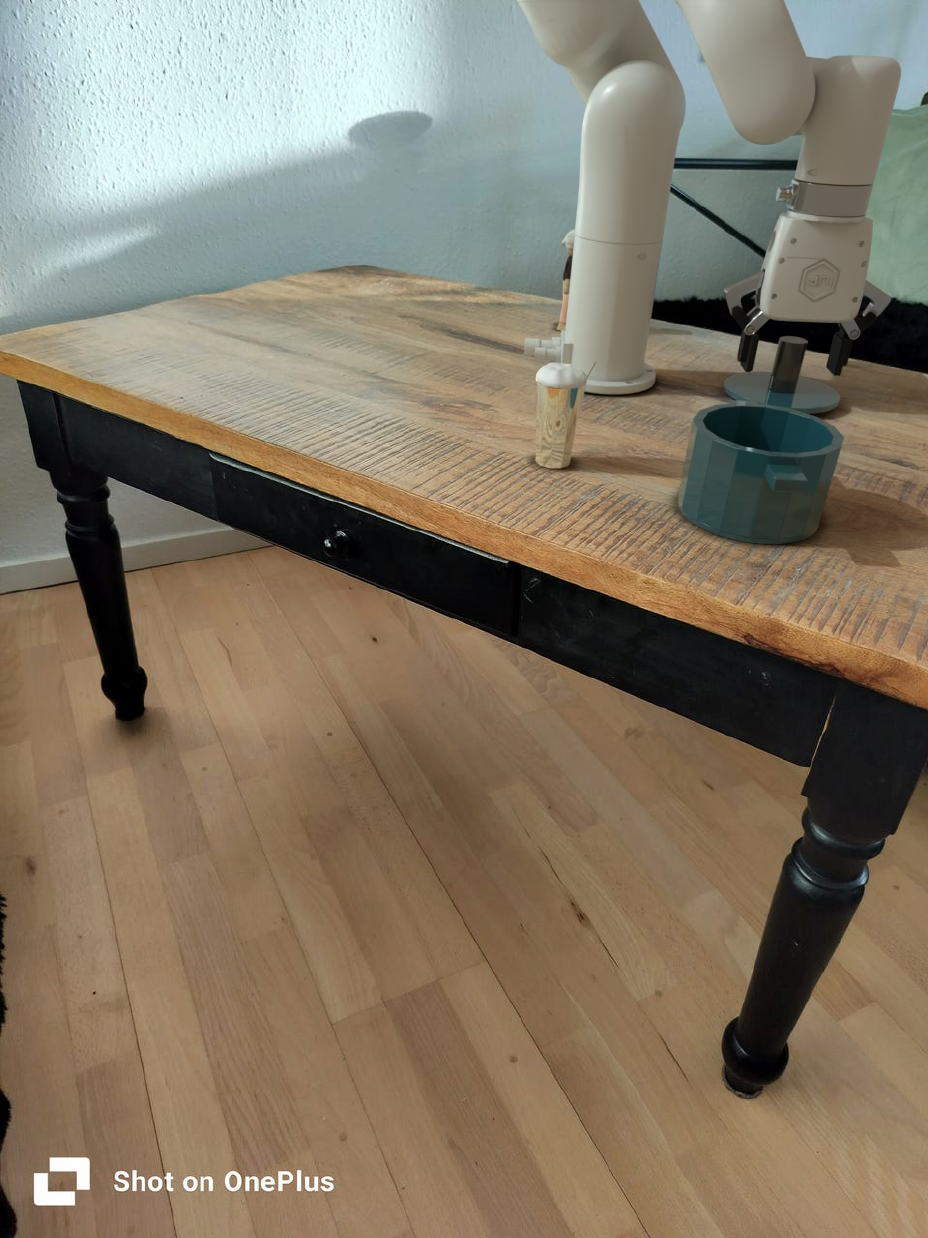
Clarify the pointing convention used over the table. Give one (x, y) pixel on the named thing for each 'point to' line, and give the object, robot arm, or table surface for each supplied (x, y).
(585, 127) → the robot arm
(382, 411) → the table surface
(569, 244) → the grandmother figurine
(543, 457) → the milkshake
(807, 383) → the lid
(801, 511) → the pot
